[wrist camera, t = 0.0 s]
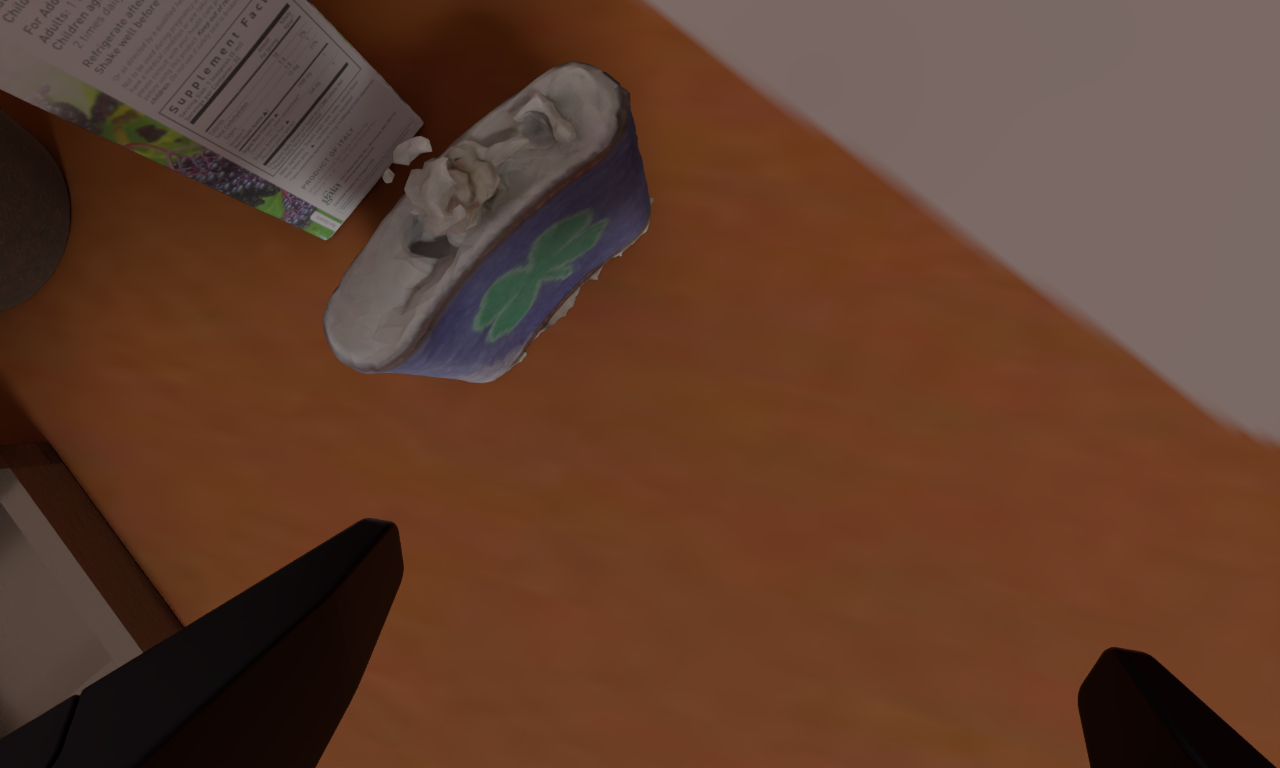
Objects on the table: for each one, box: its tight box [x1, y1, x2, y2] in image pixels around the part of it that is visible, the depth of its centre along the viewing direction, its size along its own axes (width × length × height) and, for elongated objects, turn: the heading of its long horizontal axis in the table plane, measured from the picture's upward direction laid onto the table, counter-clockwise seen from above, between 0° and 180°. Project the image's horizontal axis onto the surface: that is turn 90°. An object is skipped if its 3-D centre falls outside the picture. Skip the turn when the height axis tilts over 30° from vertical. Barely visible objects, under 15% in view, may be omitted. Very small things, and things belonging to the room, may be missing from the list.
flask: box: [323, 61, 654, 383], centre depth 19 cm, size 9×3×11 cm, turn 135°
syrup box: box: [0, 0, 423, 240], centre depth 18 cm, size 6×6×14 cm
